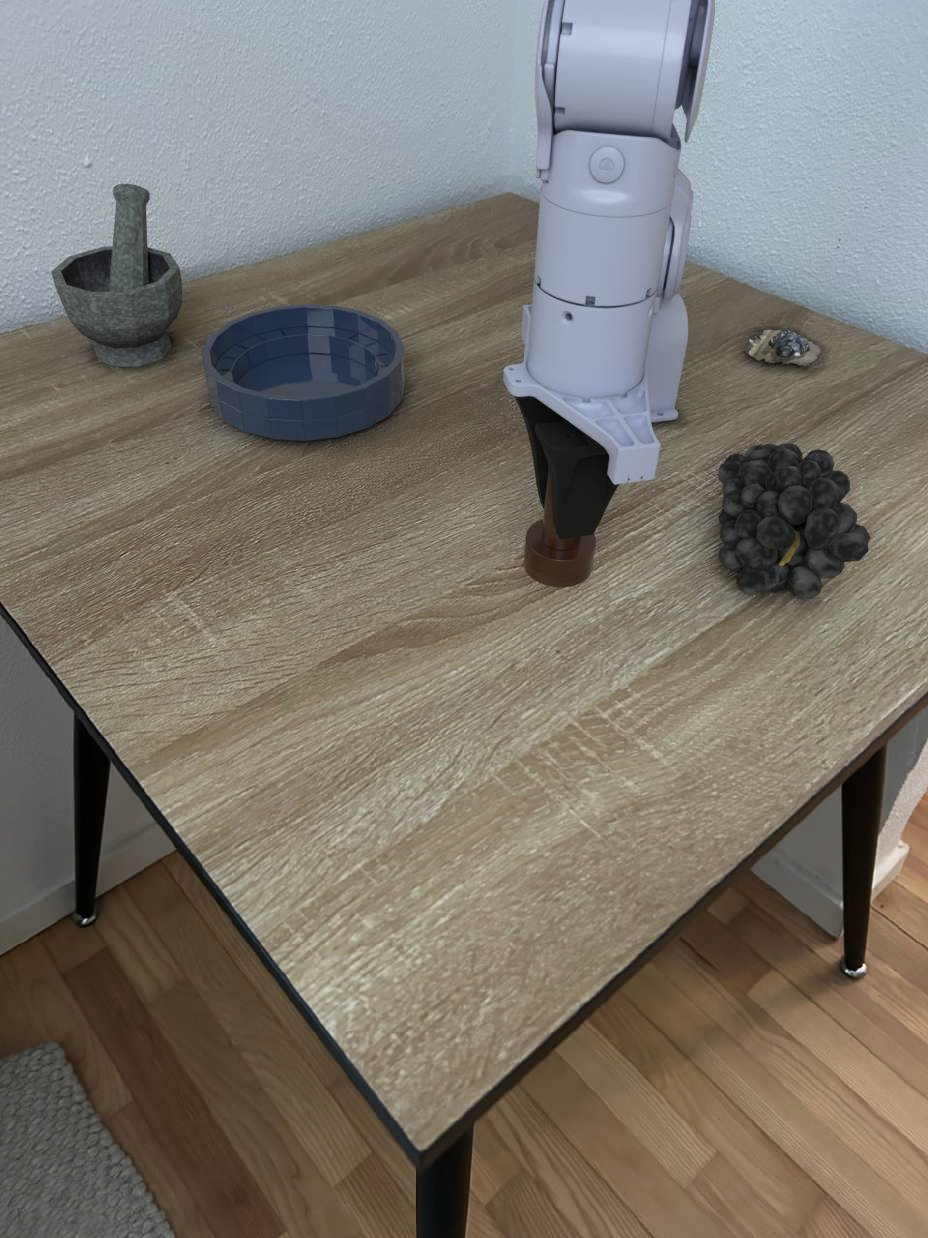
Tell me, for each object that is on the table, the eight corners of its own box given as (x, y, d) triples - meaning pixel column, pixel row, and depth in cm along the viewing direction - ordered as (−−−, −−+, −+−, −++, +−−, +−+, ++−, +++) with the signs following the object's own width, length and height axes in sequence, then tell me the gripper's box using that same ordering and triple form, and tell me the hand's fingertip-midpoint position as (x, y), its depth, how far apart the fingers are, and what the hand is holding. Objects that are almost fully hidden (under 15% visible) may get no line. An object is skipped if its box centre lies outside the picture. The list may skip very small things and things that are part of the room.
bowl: (384, 341, 84) (382, 296, 82) (422, 434, 74) (422, 387, 71) (204, 358, 81) (196, 312, 79) (217, 458, 71) (209, 409, 68)
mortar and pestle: (163, 384, 78) (132, 234, 70) (53, 371, 79) (10, 221, 71) (213, 321, 86) (191, 180, 78) (113, 310, 87) (81, 170, 79)
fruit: (745, 364, 64) (785, 493, 53) (854, 407, 65) (916, 542, 54) (680, 467, 70) (704, 604, 58) (782, 505, 71) (825, 646, 60)
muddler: (578, 539, 58) (596, 406, 52) (602, 582, 55) (624, 447, 49) (514, 548, 57) (525, 415, 51) (535, 592, 55) (548, 456, 48)
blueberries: (743, 368, 82) (748, 348, 81) (739, 326, 88) (743, 306, 87) (825, 377, 82) (831, 356, 80) (815, 333, 88) (821, 313, 86)
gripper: (471, 226, 49) (464, 454, 58) (564, 364, 39) (537, 614, 48) (602, 217, 51) (575, 441, 60) (725, 347, 40) (669, 593, 50)
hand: (566, 517), depth 54 cm, fingers closed on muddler, 2 cm apart
